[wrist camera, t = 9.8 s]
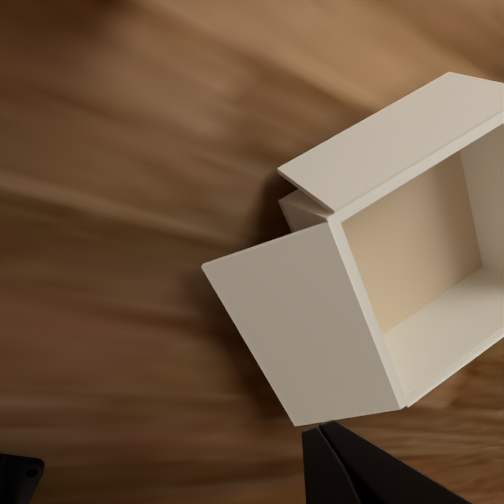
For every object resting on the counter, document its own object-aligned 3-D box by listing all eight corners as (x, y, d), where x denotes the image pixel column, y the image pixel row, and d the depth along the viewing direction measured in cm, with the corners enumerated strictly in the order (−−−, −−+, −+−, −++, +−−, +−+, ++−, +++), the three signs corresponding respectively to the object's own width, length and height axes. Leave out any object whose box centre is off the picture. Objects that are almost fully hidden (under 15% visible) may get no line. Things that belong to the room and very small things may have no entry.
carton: (291, 421, 24) (332, 489, 19) (173, 222, 18) (192, 250, 13) (486, 285, 26) (564, 314, 22) (443, 71, 20) (539, 49, 16)
